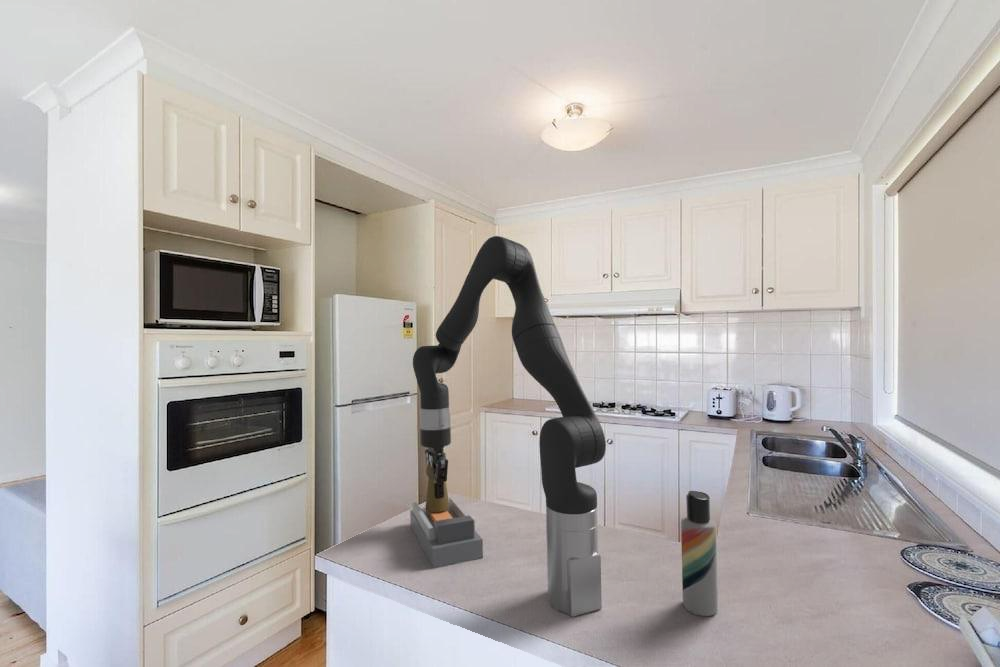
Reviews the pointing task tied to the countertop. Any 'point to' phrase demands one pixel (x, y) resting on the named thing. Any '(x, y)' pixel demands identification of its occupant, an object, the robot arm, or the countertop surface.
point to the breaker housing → (447, 535)
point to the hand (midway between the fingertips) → (436, 494)
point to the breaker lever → (439, 515)
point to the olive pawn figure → (431, 501)
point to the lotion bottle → (699, 556)
